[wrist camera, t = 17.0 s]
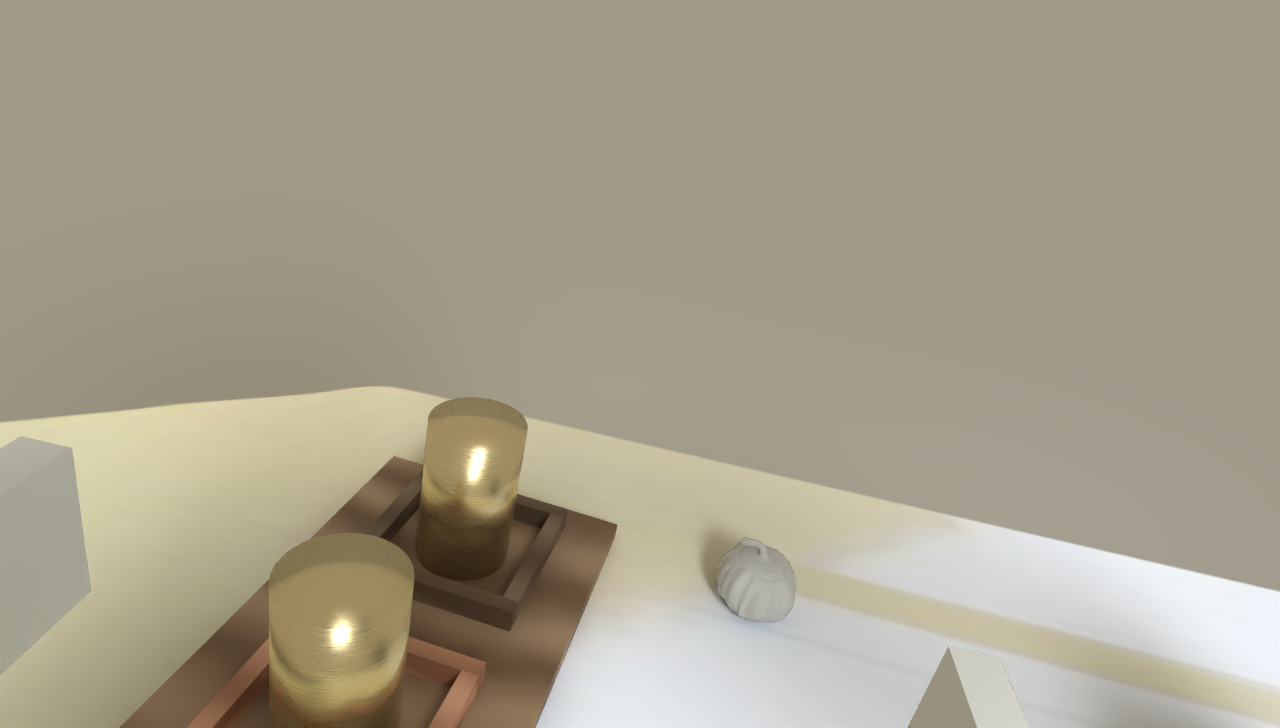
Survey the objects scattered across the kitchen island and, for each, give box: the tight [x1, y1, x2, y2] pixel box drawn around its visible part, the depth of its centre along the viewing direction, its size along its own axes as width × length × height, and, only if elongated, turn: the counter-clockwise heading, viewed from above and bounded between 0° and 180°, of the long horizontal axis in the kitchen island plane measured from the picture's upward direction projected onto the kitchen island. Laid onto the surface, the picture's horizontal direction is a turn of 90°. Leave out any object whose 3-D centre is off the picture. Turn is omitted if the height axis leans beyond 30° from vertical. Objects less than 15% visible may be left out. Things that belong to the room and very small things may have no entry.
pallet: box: [120, 456, 617, 728], centre depth 45 cm, size 30×18×3 cm, turn 167°
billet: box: [416, 398, 528, 581], centre depth 50 cm, size 6×6×10 cm
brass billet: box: [269, 533, 414, 728], centre depth 37 cm, size 6×6×10 cm
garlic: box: [717, 538, 796, 622], centre depth 54 cm, size 6×5×5 cm
